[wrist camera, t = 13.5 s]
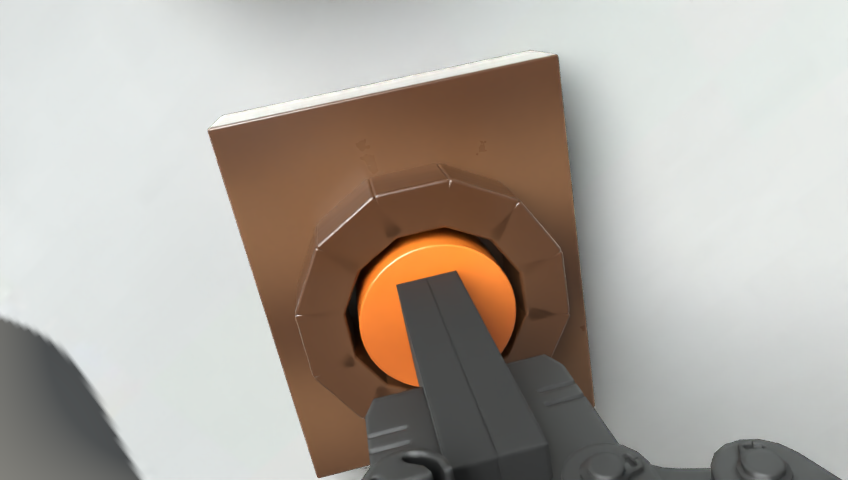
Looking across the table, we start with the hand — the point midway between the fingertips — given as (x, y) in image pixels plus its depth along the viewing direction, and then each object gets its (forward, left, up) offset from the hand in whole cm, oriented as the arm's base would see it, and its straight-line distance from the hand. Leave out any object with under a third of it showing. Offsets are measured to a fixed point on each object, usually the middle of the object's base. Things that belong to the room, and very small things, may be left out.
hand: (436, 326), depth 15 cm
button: (0, 0, -2) cm, 2 cm away
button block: (0, 0, -5) cm, 5 cm away
